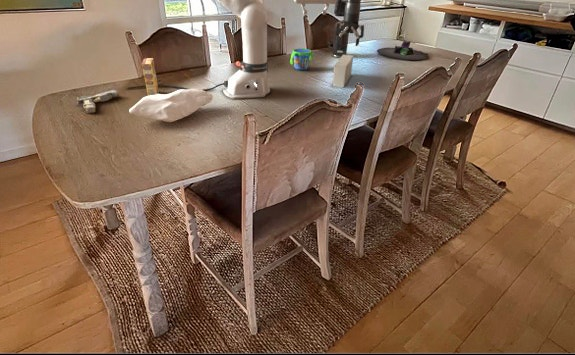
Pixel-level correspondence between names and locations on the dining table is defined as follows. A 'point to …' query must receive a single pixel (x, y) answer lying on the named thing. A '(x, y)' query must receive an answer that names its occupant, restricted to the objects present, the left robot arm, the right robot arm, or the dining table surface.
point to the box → (342, 70)
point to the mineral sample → (403, 52)
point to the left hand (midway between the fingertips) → (314, 14)
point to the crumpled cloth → (171, 104)
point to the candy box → (150, 76)
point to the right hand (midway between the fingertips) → (348, 45)
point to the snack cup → (301, 58)
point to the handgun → (95, 100)
